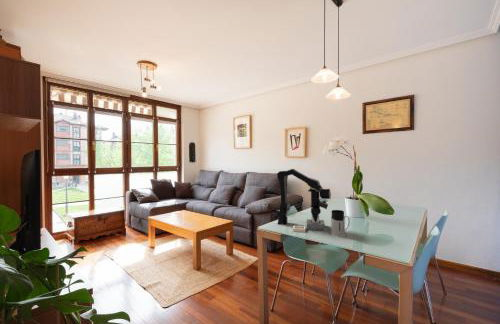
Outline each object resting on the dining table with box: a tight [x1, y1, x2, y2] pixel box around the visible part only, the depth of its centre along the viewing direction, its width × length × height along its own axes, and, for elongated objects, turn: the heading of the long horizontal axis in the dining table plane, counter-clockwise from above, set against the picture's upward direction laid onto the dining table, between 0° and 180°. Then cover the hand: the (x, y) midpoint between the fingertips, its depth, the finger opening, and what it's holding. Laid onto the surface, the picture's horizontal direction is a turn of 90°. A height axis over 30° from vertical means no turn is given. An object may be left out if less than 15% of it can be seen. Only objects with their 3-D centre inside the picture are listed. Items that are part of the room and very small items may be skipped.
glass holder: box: [330, 209, 351, 238], centre depth 148 cm, size 9×14×15 cm, turn 20°
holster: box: [292, 225, 306, 233], centre depth 161 cm, size 8×7×2 cm
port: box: [306, 218, 326, 231], centre depth 166 cm, size 12×12×5 cm
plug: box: [311, 214, 320, 223], centre depth 166 cm, size 5×4×9 cm
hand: (315, 220), depth 166 cm, fingers open, 9 cm apart
